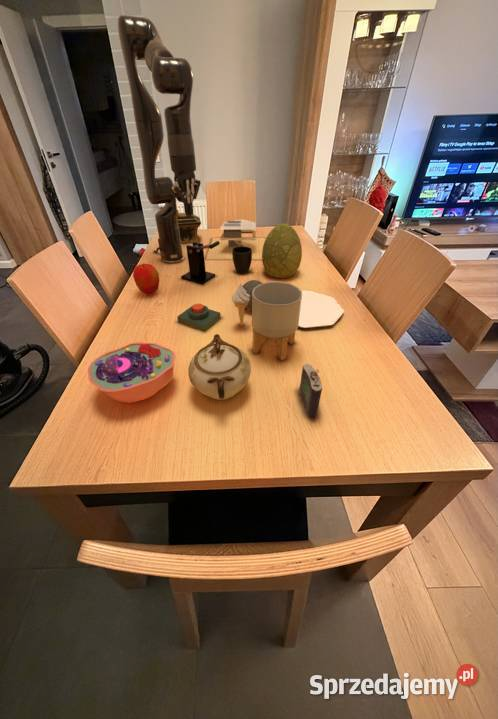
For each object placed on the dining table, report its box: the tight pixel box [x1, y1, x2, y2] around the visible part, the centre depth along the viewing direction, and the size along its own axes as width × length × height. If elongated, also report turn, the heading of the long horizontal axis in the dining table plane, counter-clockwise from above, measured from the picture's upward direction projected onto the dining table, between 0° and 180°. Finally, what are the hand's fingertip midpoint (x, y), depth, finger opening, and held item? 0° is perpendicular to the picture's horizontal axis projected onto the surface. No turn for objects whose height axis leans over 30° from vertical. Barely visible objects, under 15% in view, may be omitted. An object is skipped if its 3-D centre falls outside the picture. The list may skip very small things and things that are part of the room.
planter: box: [251, 281, 302, 361], centre depth 83 cm, size 13×13×18 cm
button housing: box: [177, 304, 222, 332], centre depth 99 cm, size 11×9×4 cm
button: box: [191, 303, 205, 313], centre depth 97 cm, size 4×4×2 cm
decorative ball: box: [242, 279, 263, 310], centre depth 103 cm, size 10×10×10 cm
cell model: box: [87, 341, 176, 404], centre depth 72 cm, size 17×20×11 cm
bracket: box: [180, 242, 216, 286], centre depth 121 cm, size 11×9×14 cm
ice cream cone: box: [231, 283, 250, 327], centre depth 93 cm, size 6×6×15 cm
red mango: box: [132, 262, 160, 296], centre depth 111 cm, size 9×9×12 cm
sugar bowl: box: [187, 333, 252, 401], centre depth 71 cm, size 20×15×15 cm
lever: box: [194, 241, 220, 252], centre depth 115 cm, size 12×5×2 cm, turn 60°
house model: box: [205, 218, 267, 260], centre depth 147 cm, size 29×30×12 cm
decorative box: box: [158, 207, 202, 245], centre depth 153 cm, size 20×10×20 cm, turn 103°
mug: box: [232, 245, 253, 275], centre depth 128 cm, size 8×12×10 cm
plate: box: [298, 290, 345, 329], centre depth 104 cm, size 24×24×2 cm
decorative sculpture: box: [261, 223, 303, 279], centre depth 122 cm, size 16×16×20 cm
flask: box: [298, 363, 323, 419], centre depth 68 cm, size 9×3×11 cm, turn 8°
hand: (189, 215), depth 100 cm, fingers closed
